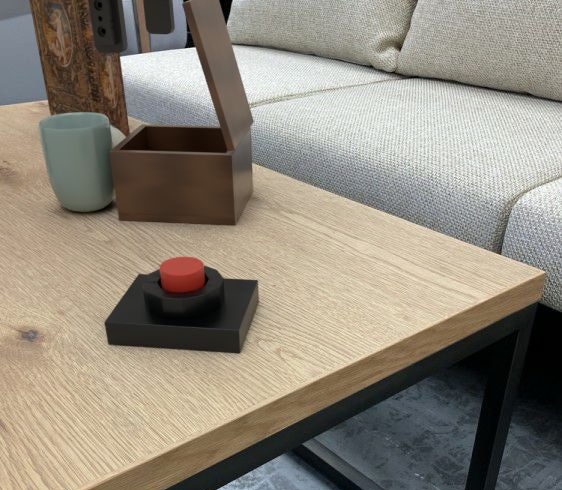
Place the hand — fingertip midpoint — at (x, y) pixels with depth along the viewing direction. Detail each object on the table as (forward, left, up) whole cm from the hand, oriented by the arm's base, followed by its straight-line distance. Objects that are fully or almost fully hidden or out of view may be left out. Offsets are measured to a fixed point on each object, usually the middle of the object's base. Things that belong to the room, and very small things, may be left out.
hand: (138, 42), depth 53 cm
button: (+3, -5, -18) cm, 19 cm away
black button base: (+3, -5, -21) cm, 22 cm away
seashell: (-20, +35, -22) cm, 46 cm away
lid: (+1, +23, -6) cm, 24 cm away
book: (-27, +53, -21) cm, 64 cm away
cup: (-16, +21, -21) cm, 34 cm away
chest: (-4, +23, -21) cm, 32 cm away
